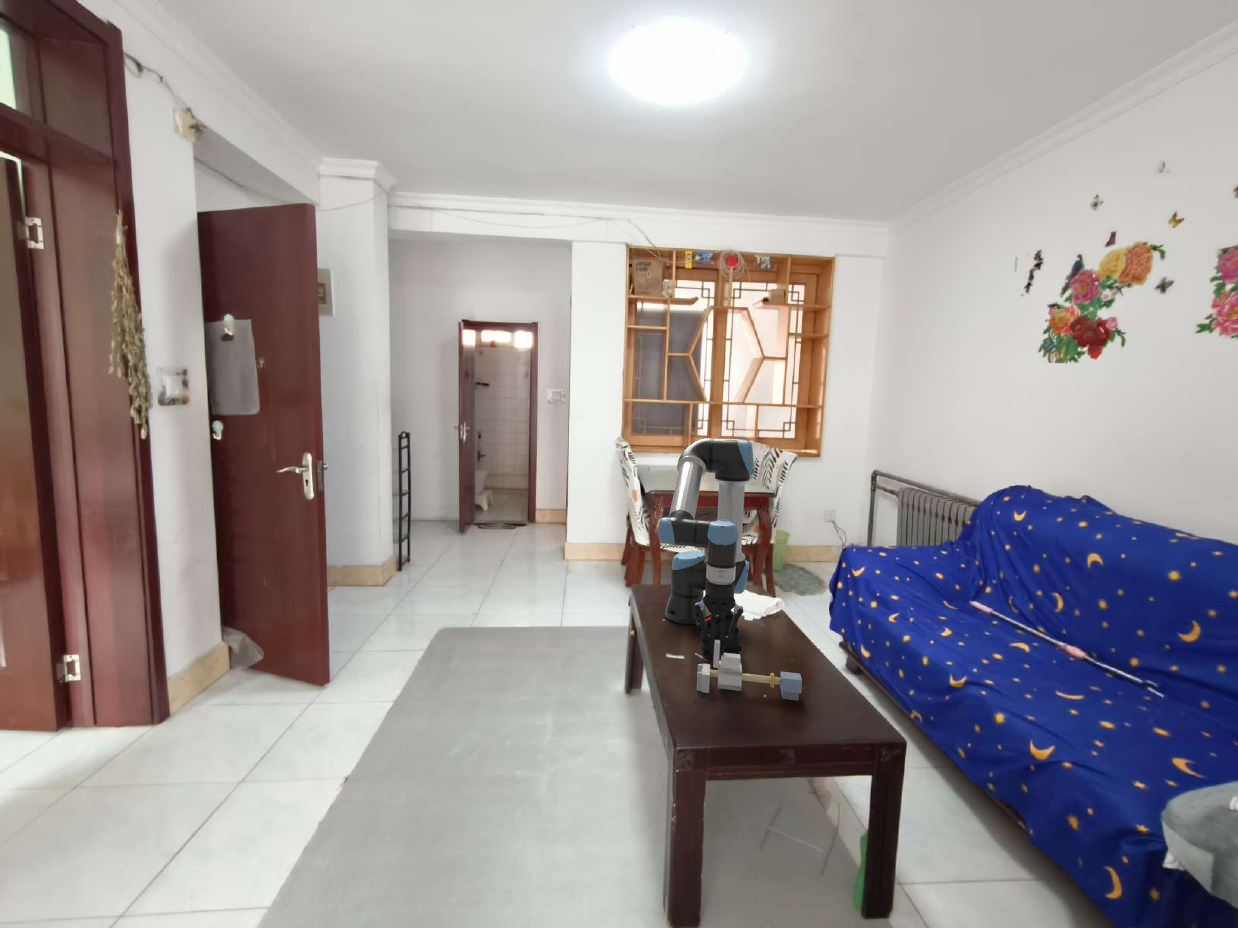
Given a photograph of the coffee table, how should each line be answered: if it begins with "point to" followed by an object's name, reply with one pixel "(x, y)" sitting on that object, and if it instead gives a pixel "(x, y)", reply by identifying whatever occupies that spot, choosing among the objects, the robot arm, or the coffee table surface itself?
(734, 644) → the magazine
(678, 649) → the coffee table surface
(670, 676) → the coffee table surface
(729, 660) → the white stepped block
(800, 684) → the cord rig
